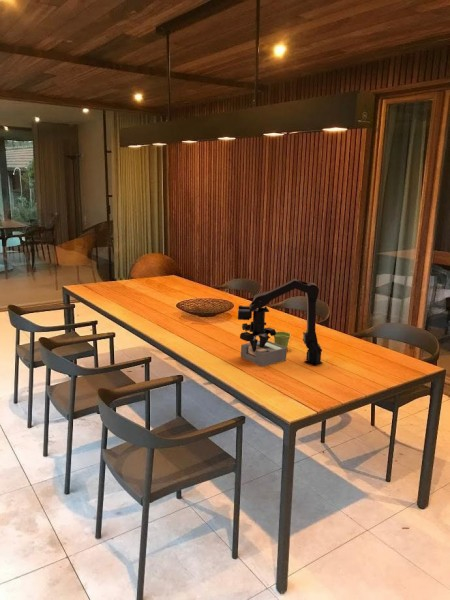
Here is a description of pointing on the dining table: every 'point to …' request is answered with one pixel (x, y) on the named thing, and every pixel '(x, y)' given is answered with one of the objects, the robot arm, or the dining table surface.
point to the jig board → (265, 354)
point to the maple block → (256, 350)
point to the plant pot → (282, 338)
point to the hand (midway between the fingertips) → (257, 350)
